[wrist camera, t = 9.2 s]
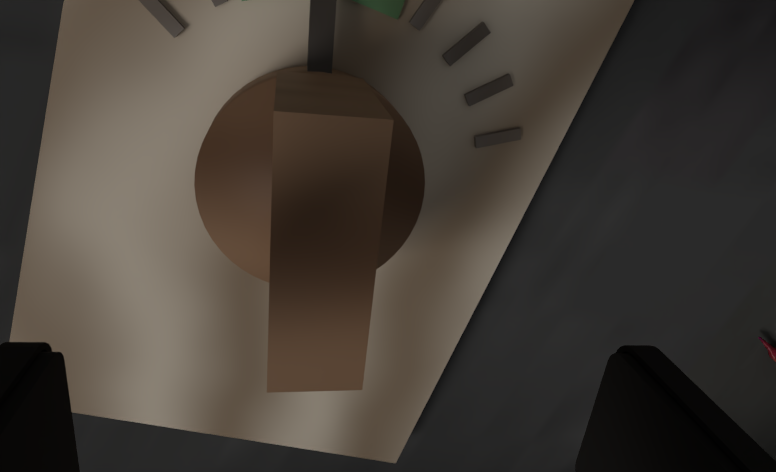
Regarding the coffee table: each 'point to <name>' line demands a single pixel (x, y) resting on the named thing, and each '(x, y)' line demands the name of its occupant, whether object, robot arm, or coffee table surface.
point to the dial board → (213, 268)
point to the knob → (311, 206)
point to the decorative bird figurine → (769, 349)
